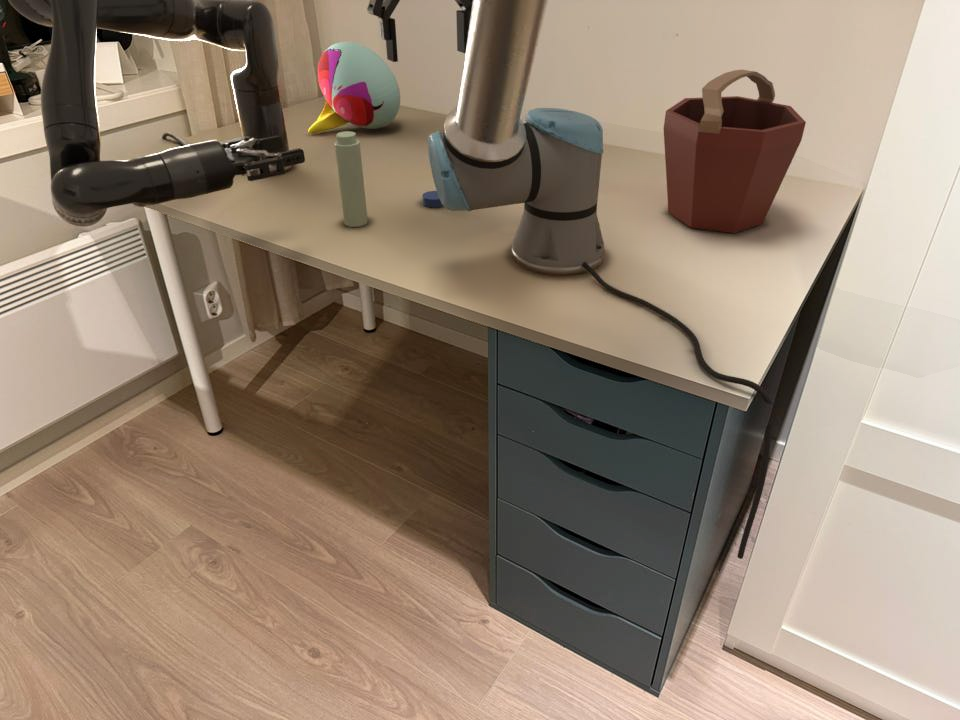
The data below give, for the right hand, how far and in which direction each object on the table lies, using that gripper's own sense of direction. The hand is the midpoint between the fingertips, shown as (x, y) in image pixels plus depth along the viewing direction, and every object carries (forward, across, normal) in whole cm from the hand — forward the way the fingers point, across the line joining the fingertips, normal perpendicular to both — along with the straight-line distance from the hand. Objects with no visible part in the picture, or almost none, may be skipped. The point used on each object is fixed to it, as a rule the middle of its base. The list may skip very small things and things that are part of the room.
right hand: (428, 56), depth 122 cm
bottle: (+27, +17, 0) cm, 32 cm away
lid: (+26, 0, 0) cm, 26 cm away
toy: (+27, -6, -56) cm, 63 cm away
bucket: (+27, -42, +32) cm, 59 cm away
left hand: (+11, +27, +2) cm, 29 cm away
